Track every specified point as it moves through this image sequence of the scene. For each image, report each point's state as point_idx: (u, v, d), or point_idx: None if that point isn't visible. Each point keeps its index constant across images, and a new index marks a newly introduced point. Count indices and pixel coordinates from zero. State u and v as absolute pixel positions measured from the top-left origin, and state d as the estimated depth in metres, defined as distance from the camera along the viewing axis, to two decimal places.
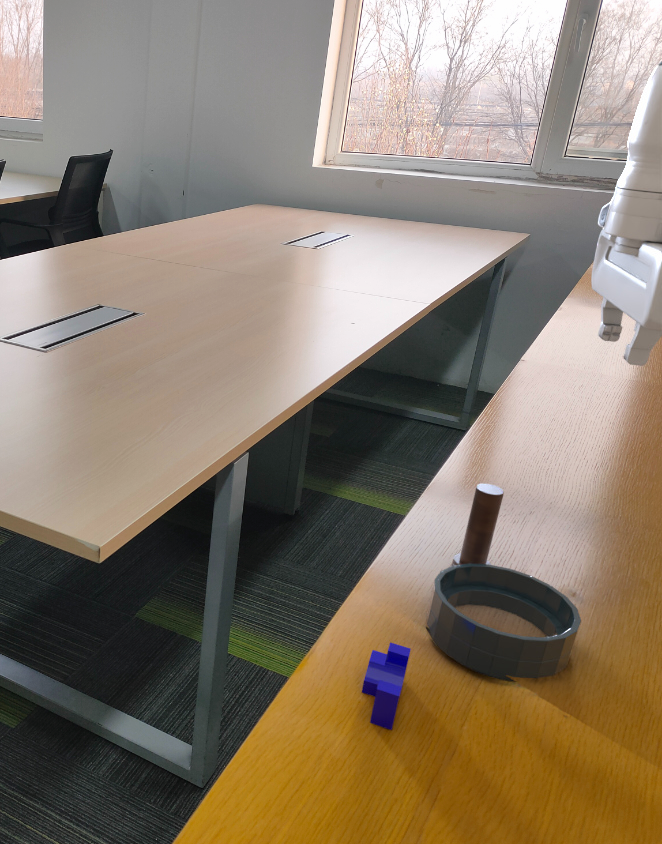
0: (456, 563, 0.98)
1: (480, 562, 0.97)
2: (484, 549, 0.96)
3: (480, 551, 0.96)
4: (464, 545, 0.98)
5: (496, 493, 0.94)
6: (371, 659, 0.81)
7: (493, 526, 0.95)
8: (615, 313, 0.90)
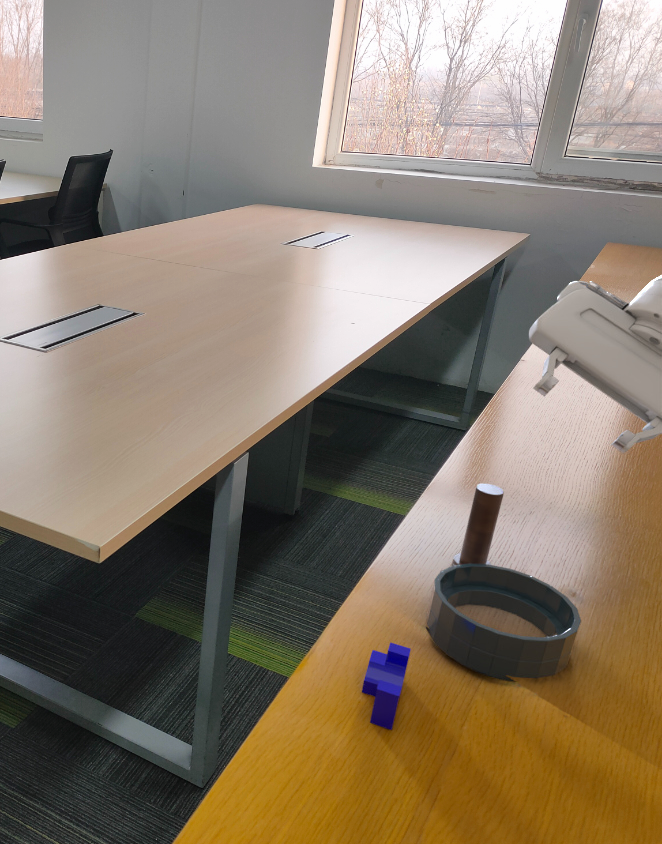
0: (456, 563, 0.98)
1: (480, 562, 0.97)
2: (484, 549, 0.96)
3: (480, 551, 0.96)
4: (464, 545, 0.98)
5: (496, 493, 0.94)
6: (371, 659, 0.81)
7: (493, 526, 0.95)
8: None
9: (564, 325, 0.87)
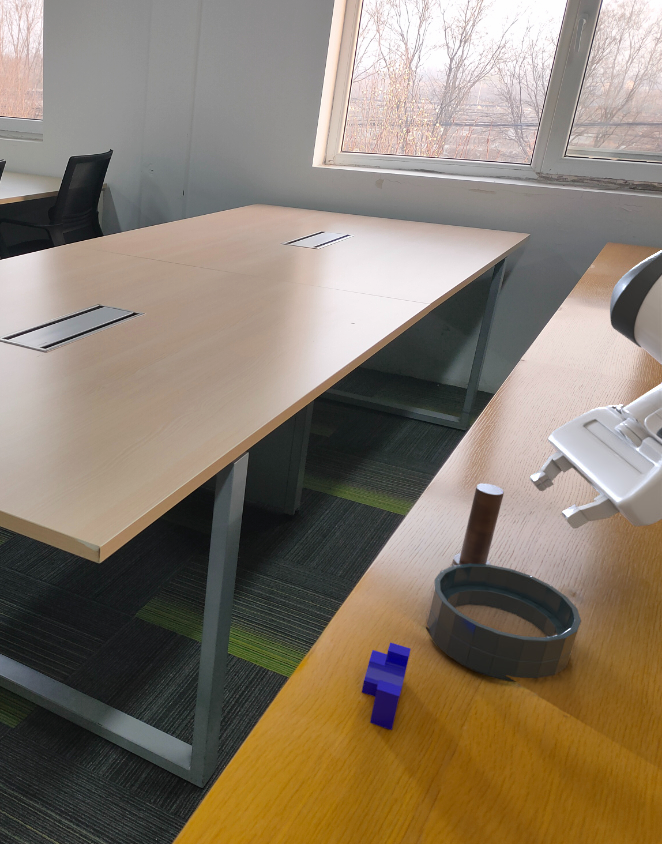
0: (456, 563, 0.98)
1: (480, 562, 0.97)
2: (484, 549, 0.96)
3: (480, 551, 0.96)
4: (464, 545, 0.98)
5: (496, 493, 0.94)
6: (371, 659, 0.81)
7: (493, 526, 0.95)
8: None
9: (567, 433, 0.98)
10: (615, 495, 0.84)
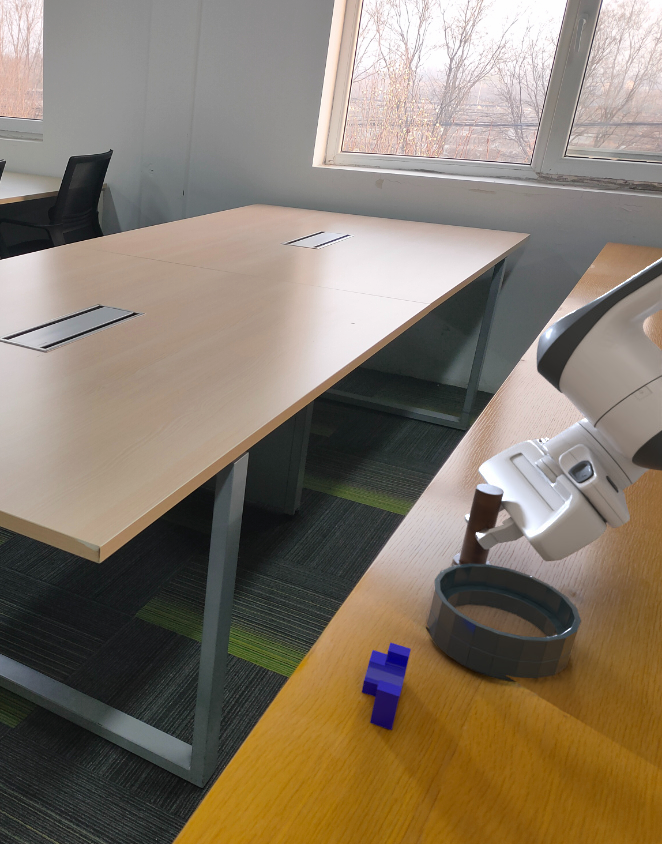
0: (456, 563, 0.98)
1: (480, 562, 0.97)
2: (484, 549, 0.96)
3: (480, 551, 0.96)
4: (464, 545, 0.98)
5: (496, 493, 0.94)
6: (371, 659, 0.81)
7: (493, 526, 0.95)
8: None
9: (494, 465, 1.01)
10: (527, 531, 0.88)
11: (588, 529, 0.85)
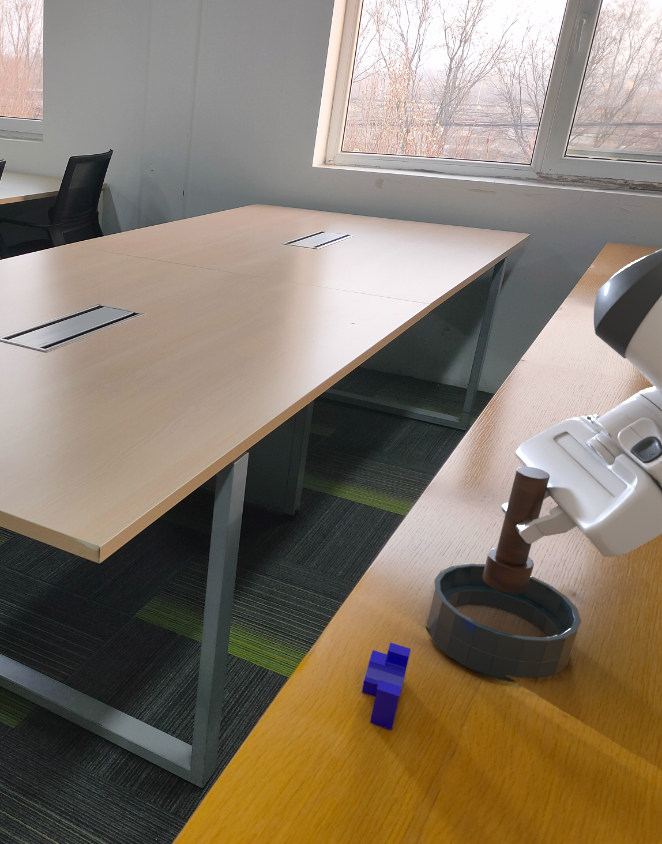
0: (493, 560, 0.84)
1: (521, 558, 0.83)
2: (526, 544, 0.82)
3: (521, 545, 0.82)
4: (501, 539, 0.84)
5: (541, 477, 0.80)
6: (371, 659, 0.81)
7: (536, 516, 0.81)
8: None
9: (535, 447, 0.87)
10: (583, 521, 0.74)
11: (658, 518, 0.71)
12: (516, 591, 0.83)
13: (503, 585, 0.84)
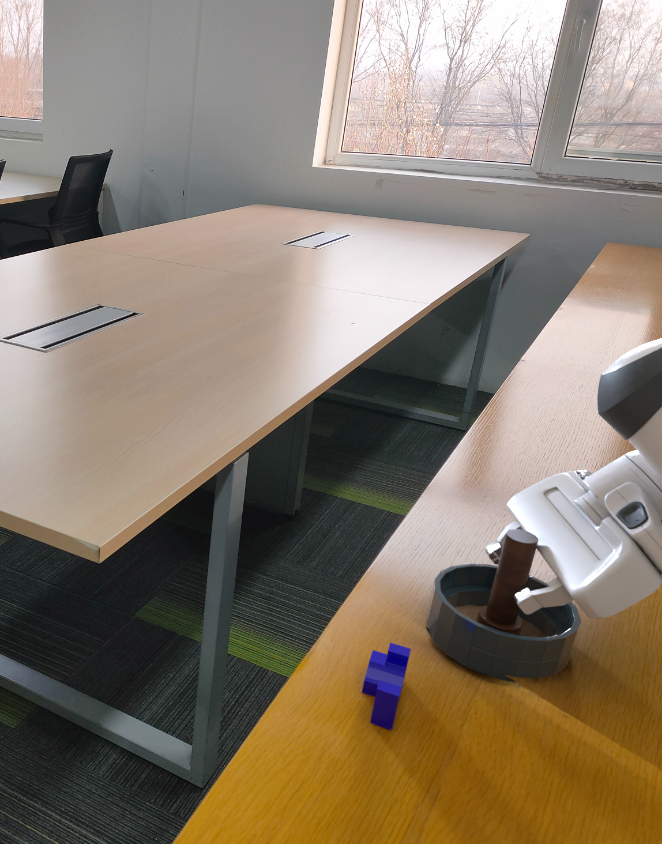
0: (483, 619, 0.86)
1: (510, 618, 0.85)
2: (515, 604, 0.84)
3: (510, 606, 0.84)
4: (492, 598, 0.86)
5: (530, 542, 0.82)
6: (371, 659, 0.81)
7: (525, 578, 0.83)
8: None
9: (526, 501, 0.89)
10: (569, 583, 0.76)
11: (642, 583, 0.73)
12: None
13: None
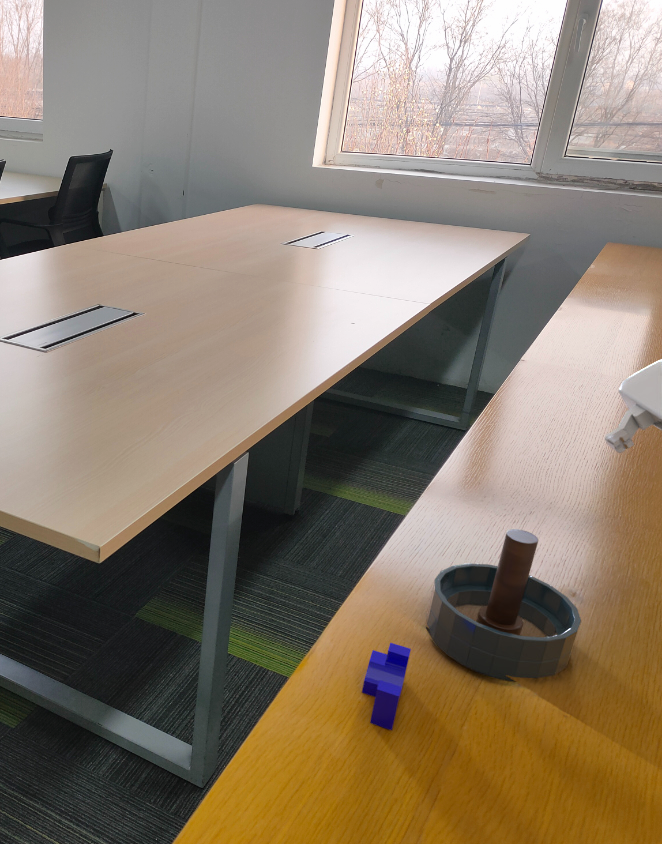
0: (483, 619, 0.86)
1: (510, 618, 0.85)
2: (515, 604, 0.84)
3: (510, 606, 0.84)
4: (492, 598, 0.86)
5: (530, 542, 0.82)
6: (371, 659, 0.81)
7: (525, 578, 0.83)
8: None
9: (646, 383, 0.83)
10: None
11: None
12: None
13: None
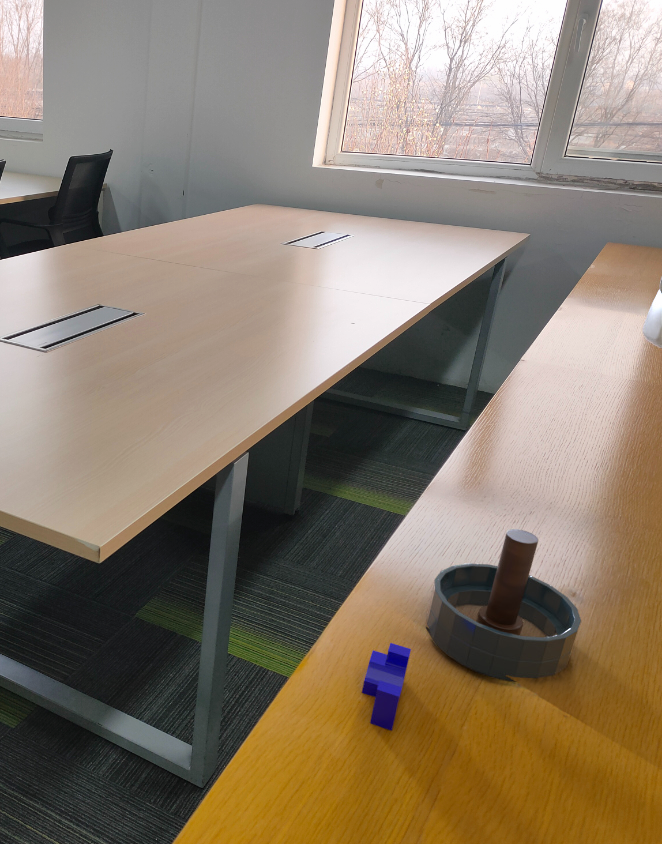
0: (483, 619, 0.86)
1: (510, 618, 0.85)
2: (515, 604, 0.84)
3: (510, 606, 0.84)
4: (492, 598, 0.86)
5: (530, 542, 0.82)
6: (371, 659, 0.81)
7: (525, 578, 0.83)
8: None
9: None
10: None
11: None
12: None
13: None
